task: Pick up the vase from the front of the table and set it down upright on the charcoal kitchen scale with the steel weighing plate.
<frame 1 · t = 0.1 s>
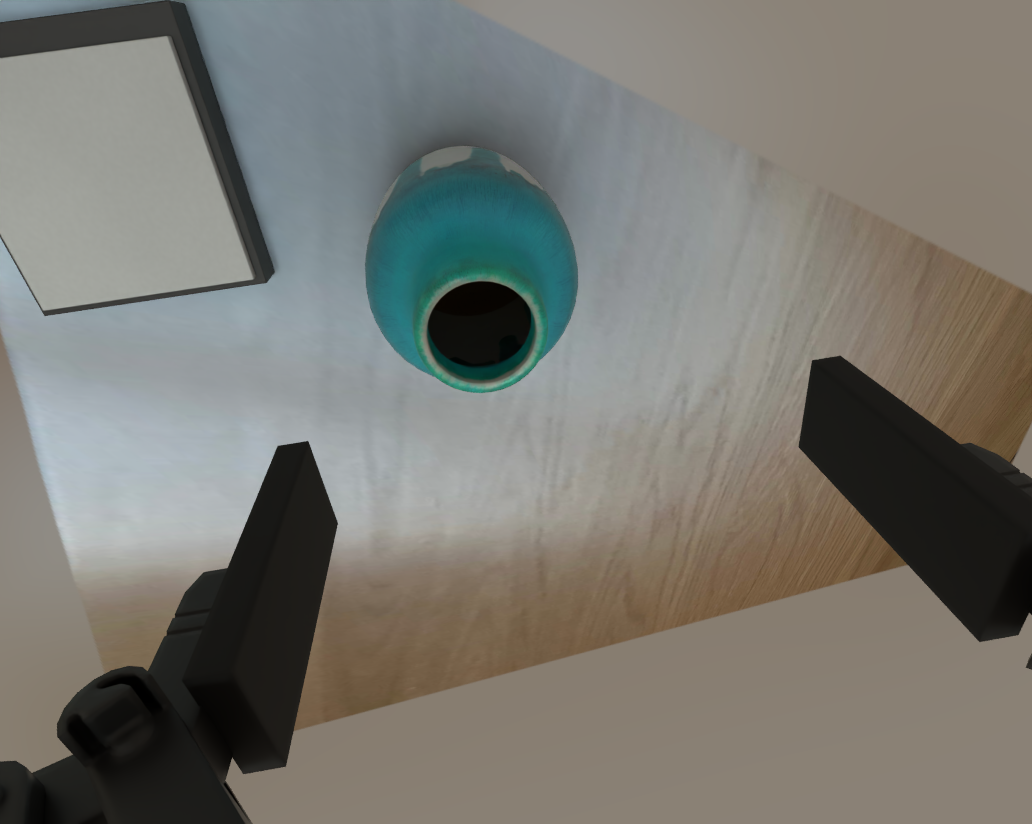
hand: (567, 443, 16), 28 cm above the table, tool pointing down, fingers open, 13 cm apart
vase: (463, 220, 40), on the table
scale: (117, 168, 36), on the table
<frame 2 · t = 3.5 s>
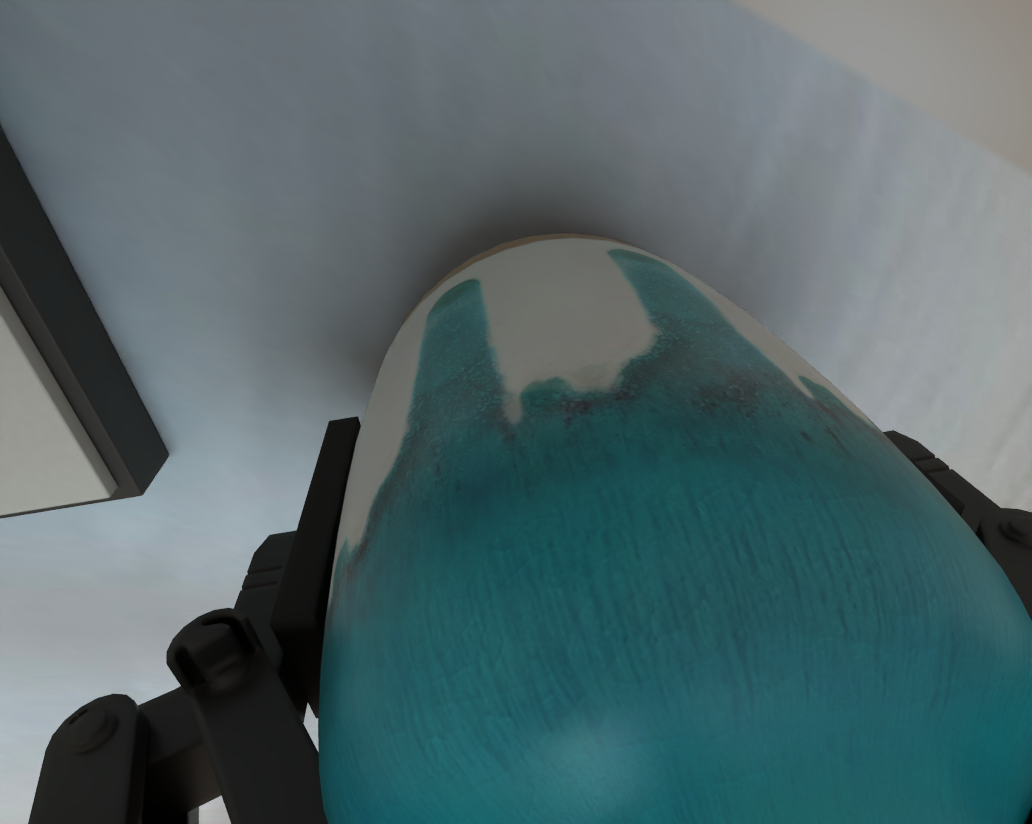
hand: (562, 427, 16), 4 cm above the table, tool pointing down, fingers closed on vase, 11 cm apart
vase: (538, 355, 20), on the table, touching gripper
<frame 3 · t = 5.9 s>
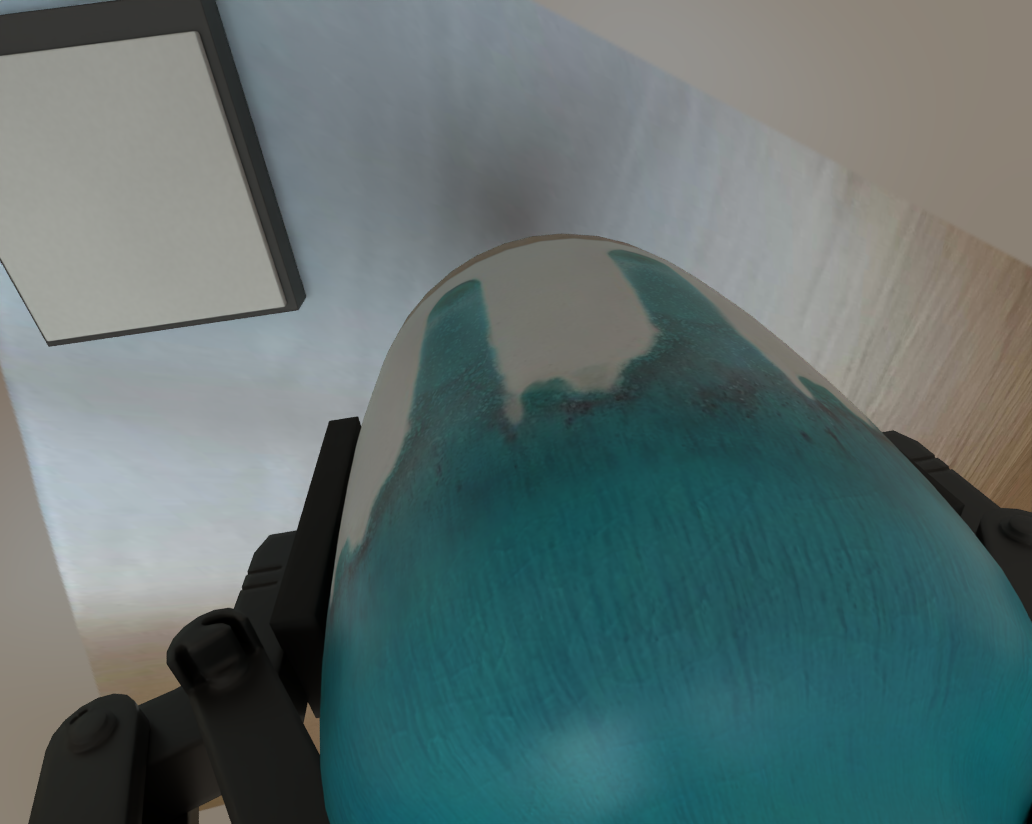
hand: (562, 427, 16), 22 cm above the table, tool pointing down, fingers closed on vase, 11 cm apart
vase: (538, 355, 20), point 17 cm above the table, touching gripper
scale: (133, 182, 32), on the table
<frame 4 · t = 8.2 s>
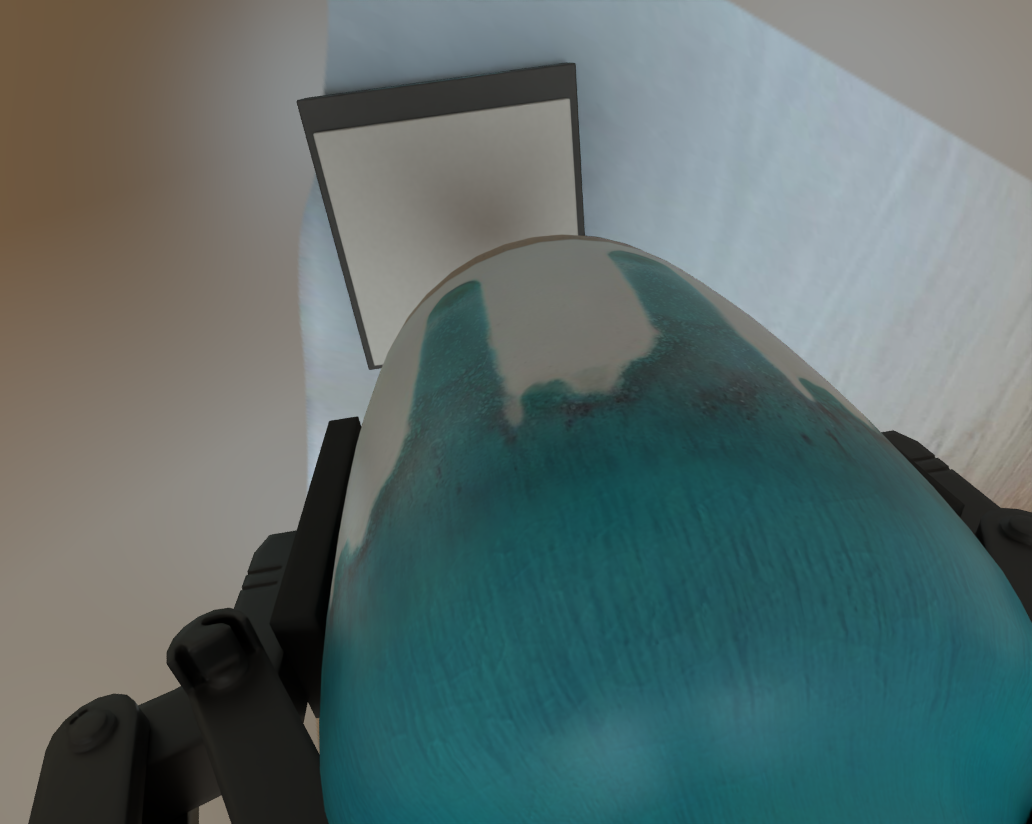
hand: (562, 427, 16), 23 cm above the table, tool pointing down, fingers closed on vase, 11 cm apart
vase: (538, 356, 20), point 18 cm above the table, touching gripper
scale: (460, 223, 35), on the table
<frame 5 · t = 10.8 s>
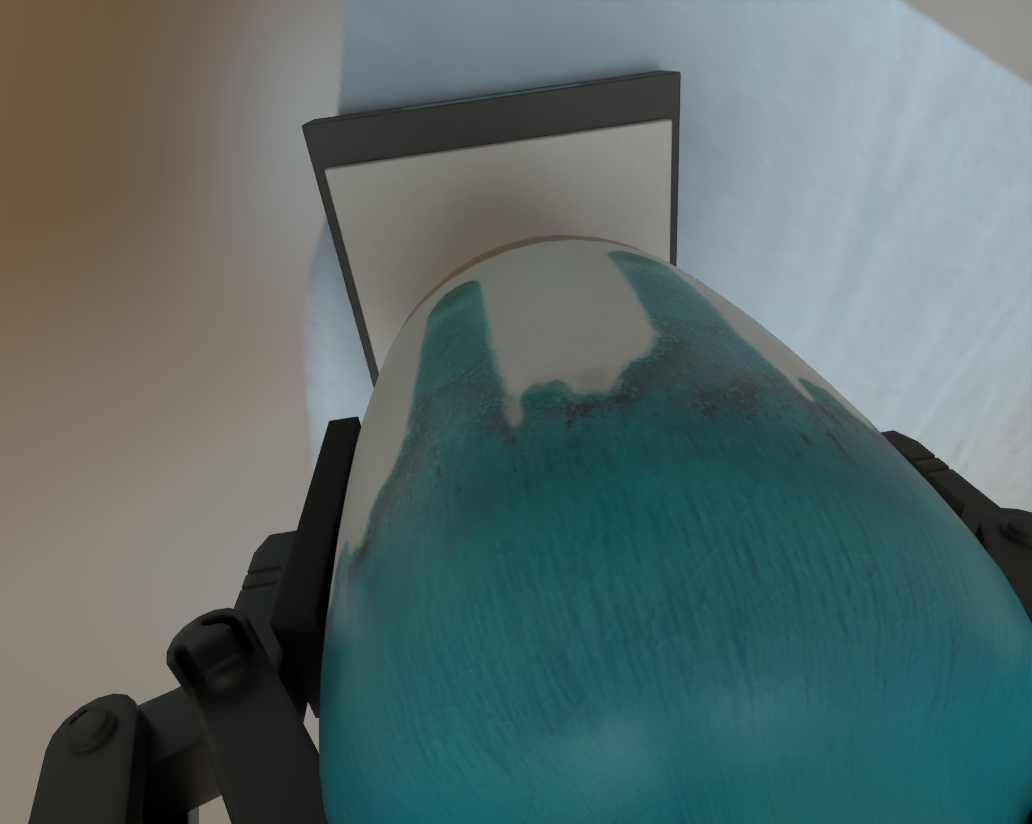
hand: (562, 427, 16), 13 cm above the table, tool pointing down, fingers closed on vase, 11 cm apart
vase: (538, 356, 20), point 8 cm above the table, touching gripper
scale: (511, 277, 28), on the table
when the fingers open (7 cm above the table, at t = 13.0 s): vase stays where it is, resting on scale.
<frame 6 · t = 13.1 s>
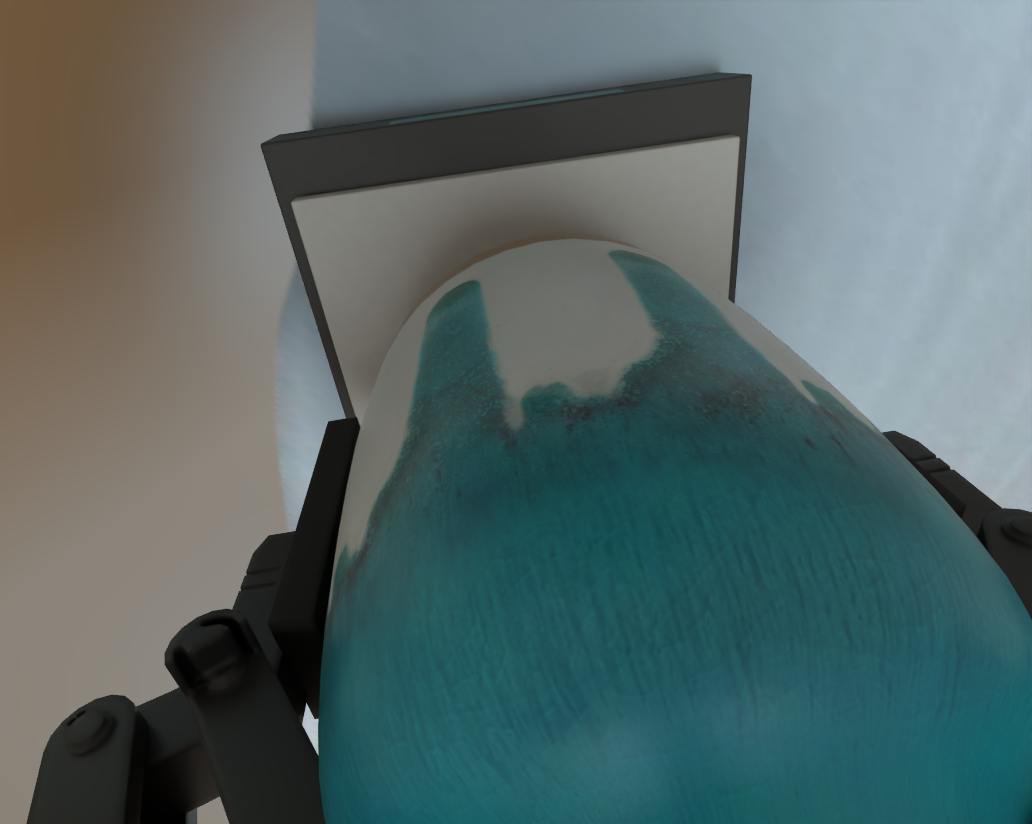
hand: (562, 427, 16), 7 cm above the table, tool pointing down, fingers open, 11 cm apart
vase: (538, 355, 20), point 3 cm above the table, touching scale
scale: (528, 325, 23), on the table
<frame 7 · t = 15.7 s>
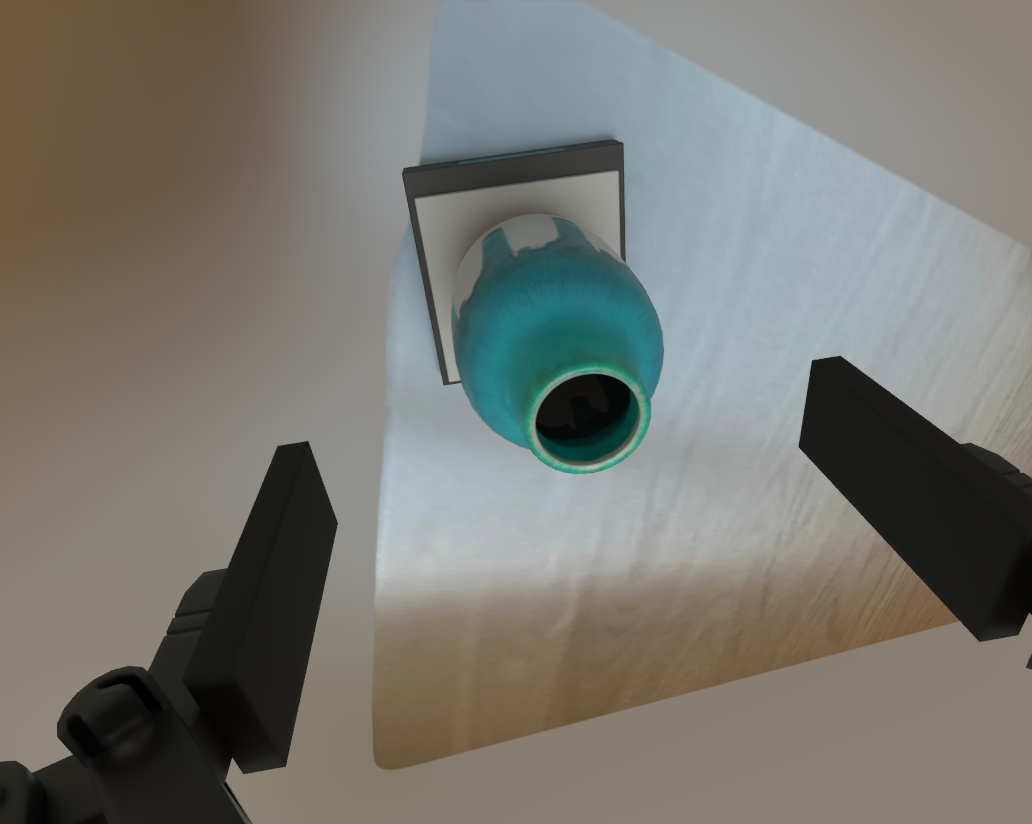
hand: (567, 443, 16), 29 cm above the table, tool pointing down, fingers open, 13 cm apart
vase: (526, 276, 41), point 3 cm above the table, touching scale
scale: (522, 265, 43), on the table
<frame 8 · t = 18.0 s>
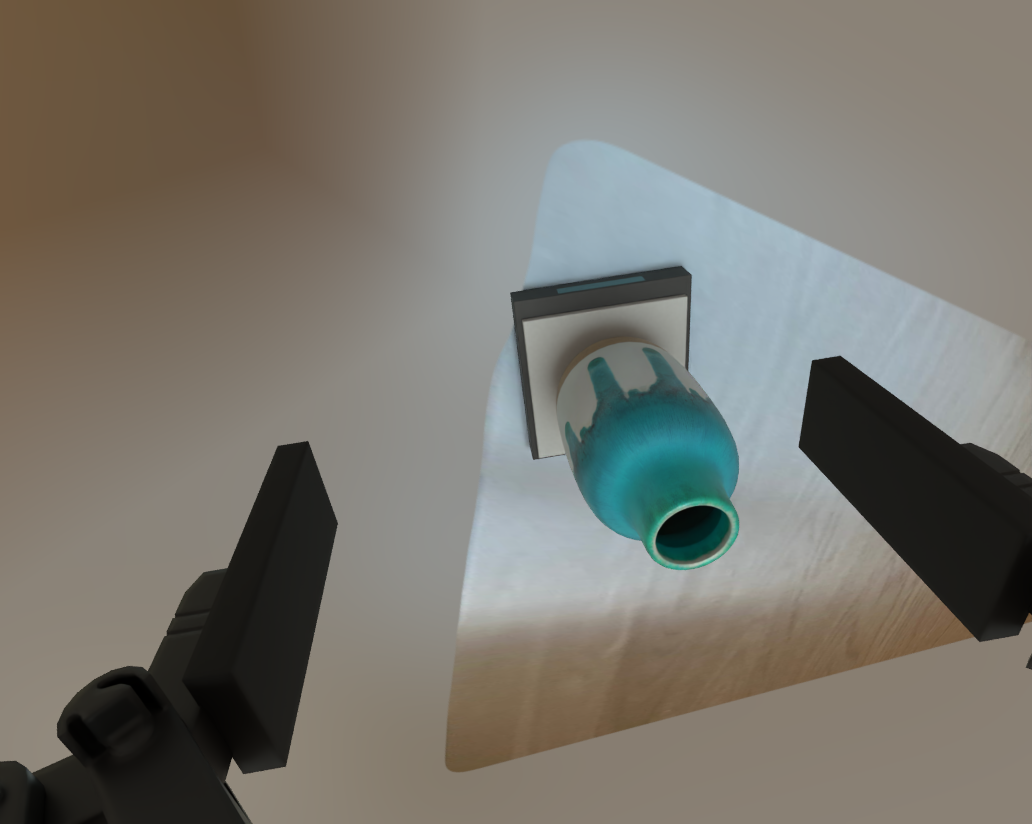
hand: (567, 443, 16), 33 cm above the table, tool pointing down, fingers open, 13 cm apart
vase: (608, 376, 50), point 3 cm above the table, touching scale
scale: (600, 362, 52), on the table
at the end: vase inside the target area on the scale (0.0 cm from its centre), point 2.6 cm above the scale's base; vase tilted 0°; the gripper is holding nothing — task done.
